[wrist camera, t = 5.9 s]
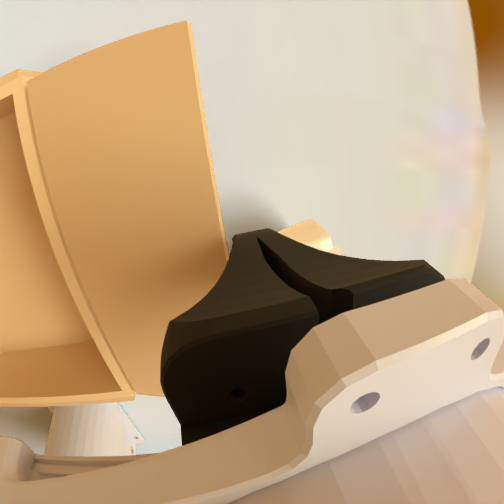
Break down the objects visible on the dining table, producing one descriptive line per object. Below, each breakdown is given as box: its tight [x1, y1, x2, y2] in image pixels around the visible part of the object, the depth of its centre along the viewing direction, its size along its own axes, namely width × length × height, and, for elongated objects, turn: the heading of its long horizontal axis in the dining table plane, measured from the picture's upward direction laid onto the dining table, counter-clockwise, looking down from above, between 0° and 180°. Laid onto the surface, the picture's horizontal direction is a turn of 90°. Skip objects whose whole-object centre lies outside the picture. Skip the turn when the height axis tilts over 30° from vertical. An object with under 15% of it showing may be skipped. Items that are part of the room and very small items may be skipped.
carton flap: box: [27, 21, 229, 397], centre depth 13 cm, size 17×7×1 cm, turn 7°
